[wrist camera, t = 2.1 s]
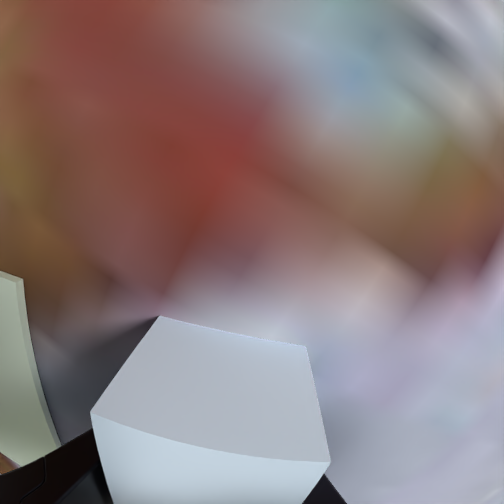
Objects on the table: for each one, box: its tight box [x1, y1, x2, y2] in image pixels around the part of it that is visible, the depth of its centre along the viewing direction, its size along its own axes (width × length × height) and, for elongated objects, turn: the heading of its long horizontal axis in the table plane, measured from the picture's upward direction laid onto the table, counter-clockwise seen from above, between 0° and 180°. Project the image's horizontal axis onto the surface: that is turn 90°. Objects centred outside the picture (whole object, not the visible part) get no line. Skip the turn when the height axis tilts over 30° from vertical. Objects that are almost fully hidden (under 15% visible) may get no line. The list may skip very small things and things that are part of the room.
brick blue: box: [90, 316, 331, 504], centre depth 6 cm, size 6×4×4 cm, turn 169°
